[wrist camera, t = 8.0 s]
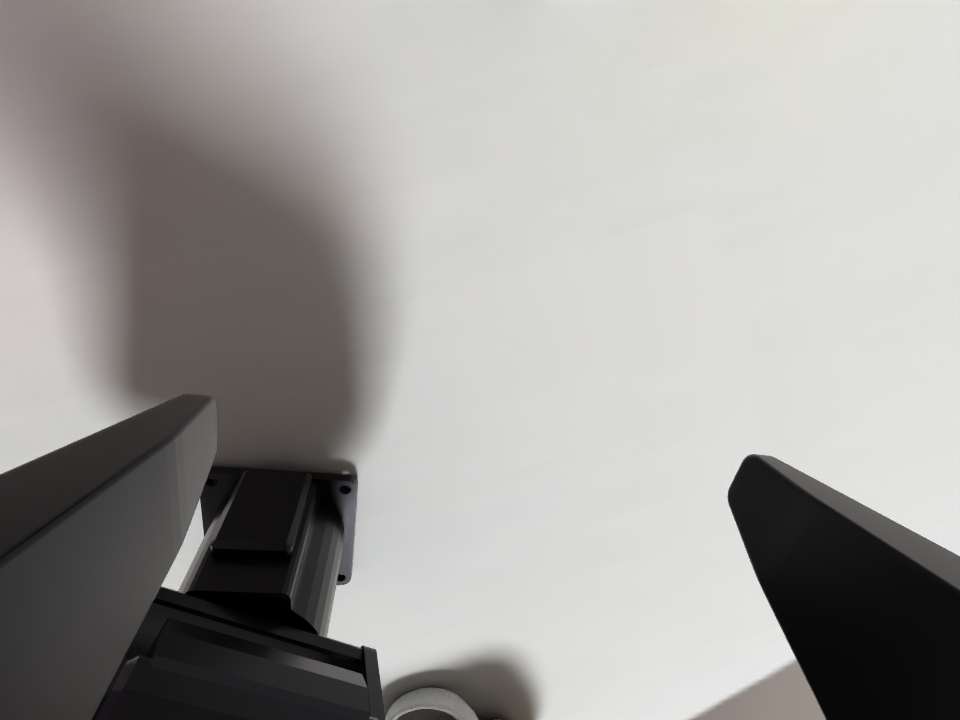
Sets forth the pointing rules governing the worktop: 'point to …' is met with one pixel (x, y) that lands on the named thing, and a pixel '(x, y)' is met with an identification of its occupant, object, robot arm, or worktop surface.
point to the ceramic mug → (431, 704)
